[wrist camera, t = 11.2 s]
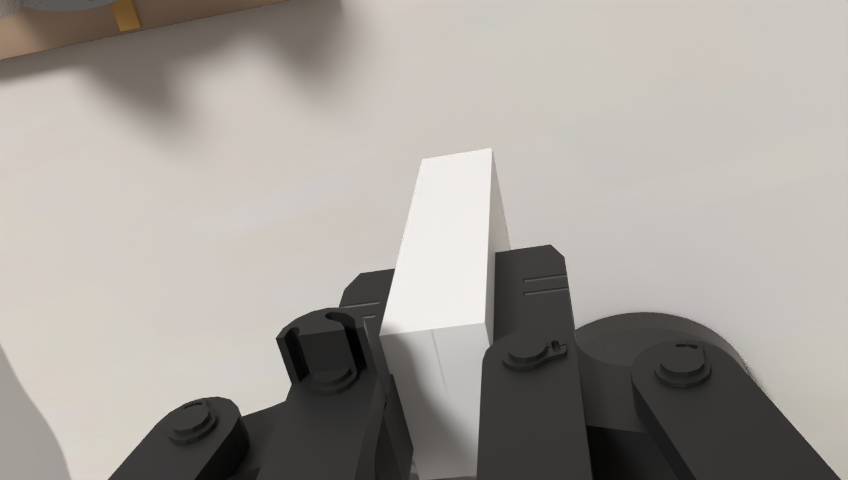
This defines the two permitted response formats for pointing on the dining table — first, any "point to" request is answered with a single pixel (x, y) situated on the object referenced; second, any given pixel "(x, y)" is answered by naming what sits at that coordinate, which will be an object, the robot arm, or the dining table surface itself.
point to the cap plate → (103, 22)
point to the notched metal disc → (49, 5)
